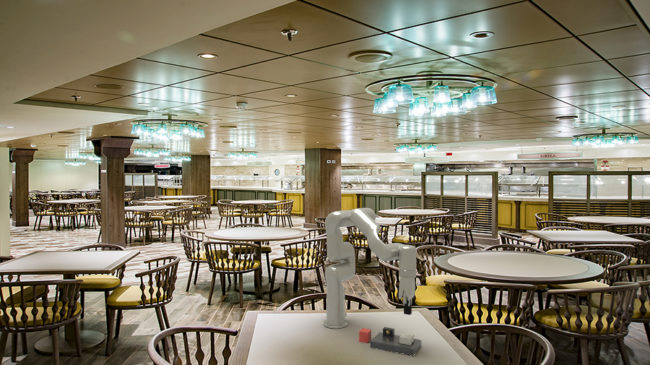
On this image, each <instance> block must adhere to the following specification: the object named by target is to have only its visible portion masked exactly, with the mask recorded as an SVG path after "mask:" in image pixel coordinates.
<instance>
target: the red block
mask: <svg viewBox="0 0 650 365" xmlns="http://www.w3.org/2000/svg"><path fill="white" fill-rule="evenodd" d="M371 340H372V329H369V328H365V327H362V328H361V329H360V330H359V332H358V342H360V343H364V342H365V344H369V343H370V341H371ZM368 342H369V343H368Z"/></svg>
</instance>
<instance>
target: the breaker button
mask: <svg viewBox="0 0 650 365" xmlns="http://www.w3.org/2000/svg"><path fill="white" fill-rule="evenodd" d="M399 336H400V343H401V344H406V345H411V344H412V343H413V342H414V339H415V338H414V337H415V336H414V334H410V333H407V332H406V333H404V332H402V334H401V335H399Z"/></svg>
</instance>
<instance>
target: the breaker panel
mask: <svg viewBox="0 0 650 365" xmlns="http://www.w3.org/2000/svg"><path fill="white" fill-rule="evenodd" d="M400 336H401V335H396V333H395V328H392V327H383V328H382V331H381V332H378V333H377V334H376V335H375V336H374V337H373V338H371V341H370V342H369V343H370V344H369V347H370V348H372V349H376V348H377V349H378V350H381V349H382V351H387V352H391V351H392V353H395V352H398V354H400V353H404V354H403V355H405V354H409V355H408V356H410V355H414V354H415V353H416V352H417V353H418V351H419V350H420V349H421V347H422V339H419V338H414V342H413V343H412V344H411V345H406V344H401V343H400ZM419 348H420V349H419ZM377 349H376V350H377ZM418 349H419V350H418ZM417 353H416V354H417ZM416 354H415V355H416ZM415 355H414V356H415Z"/></svg>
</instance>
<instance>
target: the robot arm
mask: <svg viewBox="0 0 650 365" xmlns="http://www.w3.org/2000/svg"><path fill="white" fill-rule="evenodd" d="M376 218H377V216H376V213H375V211H374V210H373V209H372V208H370V207H359V208H355V209H346V210H343V209H342V210H336V211H332V212H331V213H328V215H327V216H326V217H325V220H324V221H325V222H324V228H325V233H326V255H327V259H328V260H329V261H330V262H338V263H333V264H331V265H329V266H328V267H326V269H325V271H324V278H325V283H326V314H325V315H326V319H324V320H323V324H322V325H323V326H324V327H325V328H329V329H337V330H338V329H344V328H345V327H347V326H348V324H349V323H348V321H347V320H345V319H346V317H347V313H346V291H345V287H344V285H343V284H344V283H343V282H345V281H349V280H351V279H353V278H354V276H355V274H356V253H355V252H356V251H355V248H354V246H353V244H352V243H350V242H349V241H344V236H343V235H344V234H343V232H342V230H341V228H344V227H345V228H346V227H355V228H357V229H358V231H360V232H361V233H362V235H364V237H365V238H367V239H366V240H367V244H368V248H369V249H370V250H371V252H372V253H373V255H375V256H376V257H377V258H378V260H381V261H383V262H391V261H396V260H398V272H399V275H398V276H399V286H398V299H399V300H402V304H403V314H404V315H408V316H411V315H412V314H413V311H412V307H413V306H412V304H413V298H414V297H415V294H416V280H415V279H416V278H417V247H416V246H414V245H410V244H403V243H399V242H394V243H387V244H385V242H384V241H382V240H381V239H380V238H379V236H378V235H379V234H380V232H381V226H380V224H379V223H377V222H376Z"/></svg>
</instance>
